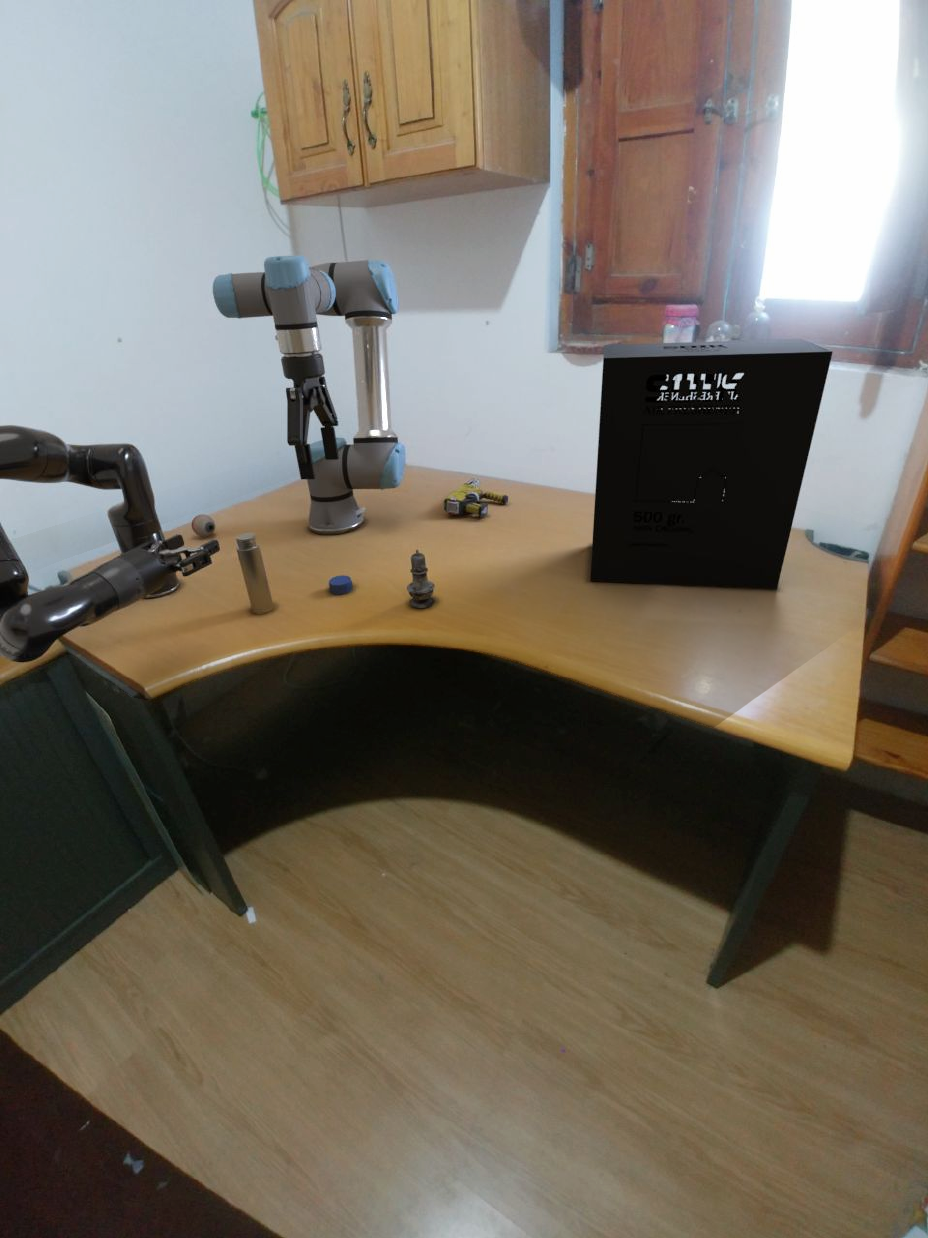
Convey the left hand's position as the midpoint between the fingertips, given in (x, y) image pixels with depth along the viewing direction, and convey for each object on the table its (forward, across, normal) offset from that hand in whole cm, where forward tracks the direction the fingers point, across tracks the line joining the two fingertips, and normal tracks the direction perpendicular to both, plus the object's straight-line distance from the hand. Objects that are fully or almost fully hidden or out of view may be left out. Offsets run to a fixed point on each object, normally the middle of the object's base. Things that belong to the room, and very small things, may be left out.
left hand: (199, 541), depth 109 cm
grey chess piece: (+24, -32, +20) cm, 44 cm away
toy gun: (+84, -22, +20) cm, 89 cm away
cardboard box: (+57, -79, +20) cm, 100 cm away
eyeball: (+41, +44, +20) cm, 63 cm away
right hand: (+24, -11, -7) cm, 28 cm away
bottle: (+11, 0, +20) cm, 23 cm away
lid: (+24, -11, +18) cm, 32 cm away
